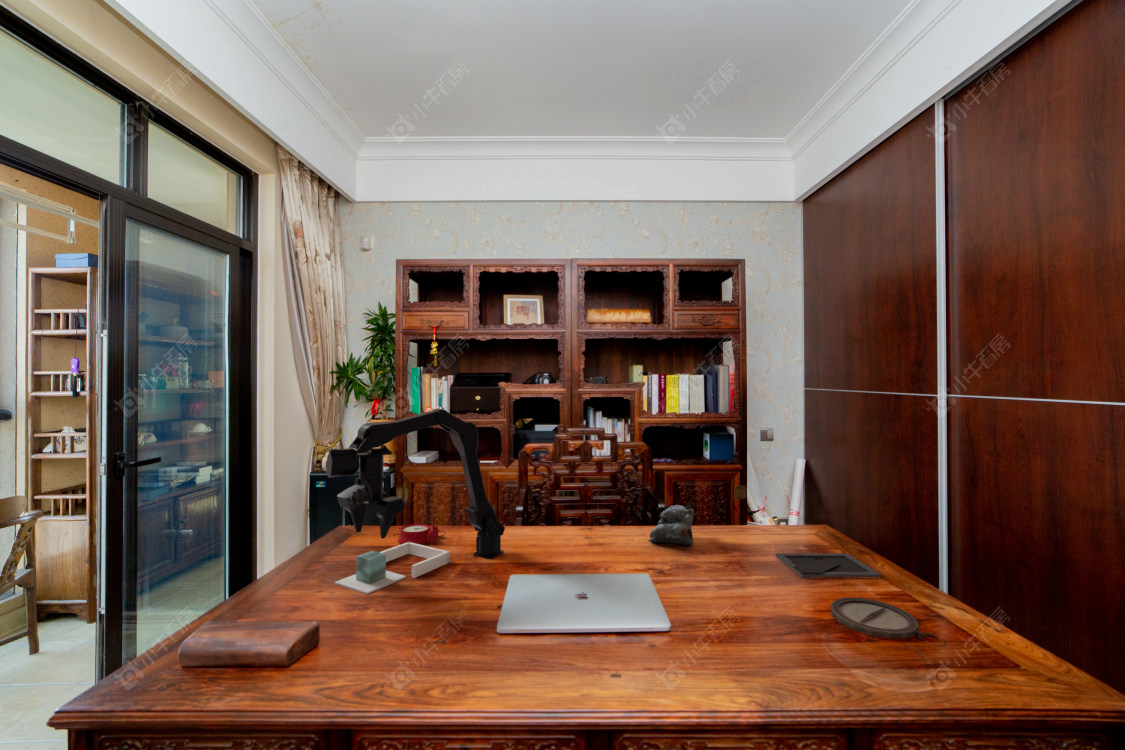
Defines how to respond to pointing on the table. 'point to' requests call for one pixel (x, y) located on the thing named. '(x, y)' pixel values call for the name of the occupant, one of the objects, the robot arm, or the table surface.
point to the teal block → (370, 567)
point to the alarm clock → (418, 534)
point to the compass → (875, 618)
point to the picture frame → (826, 565)
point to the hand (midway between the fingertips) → (370, 535)
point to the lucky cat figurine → (674, 526)
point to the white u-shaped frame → (432, 554)
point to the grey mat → (368, 588)
